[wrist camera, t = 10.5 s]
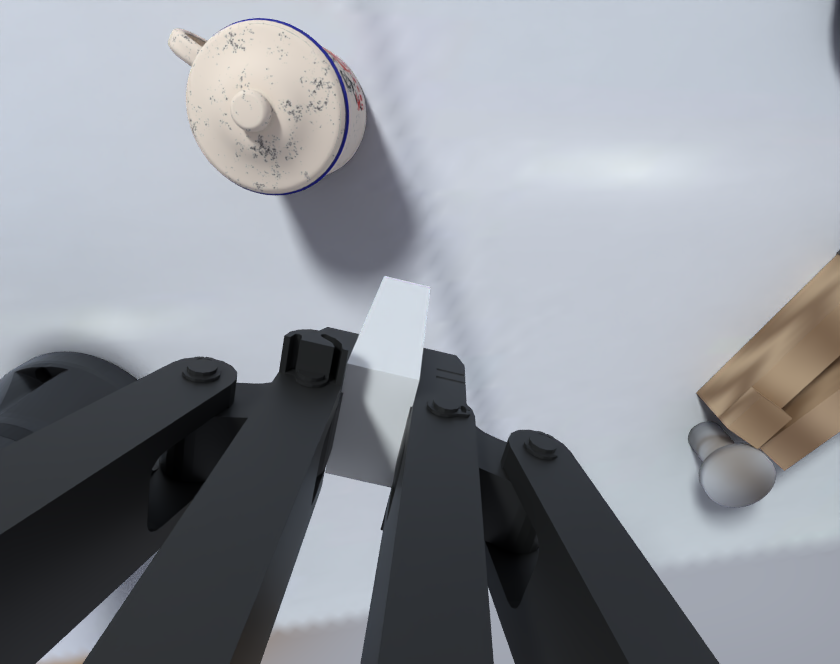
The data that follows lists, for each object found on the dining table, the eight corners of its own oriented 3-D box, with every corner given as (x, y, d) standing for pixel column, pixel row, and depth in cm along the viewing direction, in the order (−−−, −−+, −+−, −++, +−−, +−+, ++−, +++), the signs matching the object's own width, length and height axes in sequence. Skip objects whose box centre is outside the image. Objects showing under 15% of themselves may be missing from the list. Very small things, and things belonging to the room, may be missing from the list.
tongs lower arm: (719, 471, 47) (745, 506, 42) (681, 437, 46) (703, 469, 41) (966, 288, 40) (1026, 308, 36) (927, 243, 39) (984, 258, 35)
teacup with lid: (395, 93, 37) (371, 83, 26) (329, 204, 40) (283, 236, 29) (241, -19, 35) (148, -80, 24) (184, 106, 38) (77, 102, 28)
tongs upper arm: (705, 471, 47) (738, 518, 41) (651, 435, 46) (678, 478, 40) (941, 256, 39) (1021, 278, 34) (883, 207, 38) (955, 222, 33)
